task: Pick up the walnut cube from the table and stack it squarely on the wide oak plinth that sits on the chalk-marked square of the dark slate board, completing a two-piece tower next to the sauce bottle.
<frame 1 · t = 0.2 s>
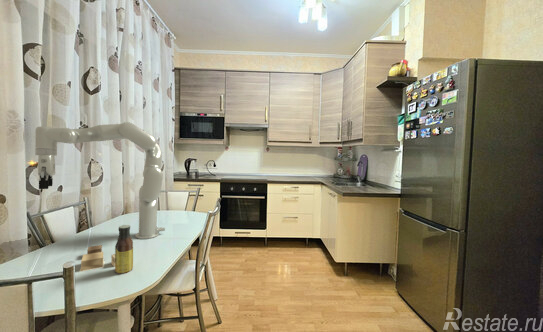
hand: (45, 187, 112), 31 cm above the table, fingers open, 9 cm apart
slate board: (98, 266, 99), on the table
oak plinth: (92, 265, 98), point 1 cm above the table, touching slate board
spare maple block: (118, 263, 101), point 1 cm above the table, touching slate board
walnut cube: (94, 258, 107), on the table
sauce bottle: (123, 273, 95), on the table
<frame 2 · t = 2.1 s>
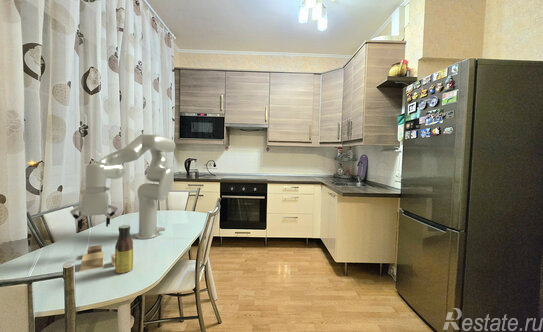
hand: (94, 227, 106), 15 cm above the table, fingers open, 9 cm apart
nothing on the table moved.
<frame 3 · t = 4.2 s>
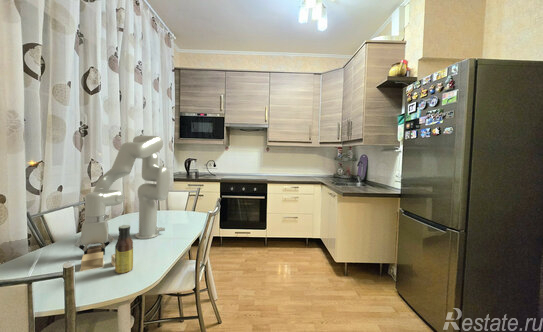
hand: (94, 256, 107), 0 cm above the table, fingers closed on walnut cube, 5 cm apart
walnut cube: (94, 258, 107), on the table, touching gripper
everything else where it was.
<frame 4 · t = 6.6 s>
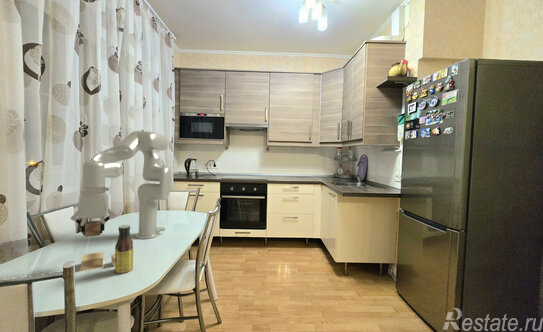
hand: (93, 233, 98), 15 cm above the table, fingers closed on walnut cube, 5 cm apart
walnut cube: (93, 234, 98), point 15 cm above the table, touching gripper
everything else where it was.
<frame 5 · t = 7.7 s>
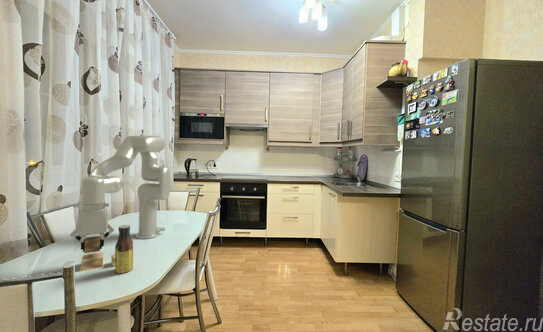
hand: (92, 248, 98), 8 cm above the table, fingers closed on walnut cube, 5 cm apart
walnut cube: (92, 250, 98), point 8 cm above the table, touching gripper
everything else where it was.
when the fingers open (7 cm above the table, at t = 8.8 s): walnut cube drops 1 cm, resting on oak plinth.
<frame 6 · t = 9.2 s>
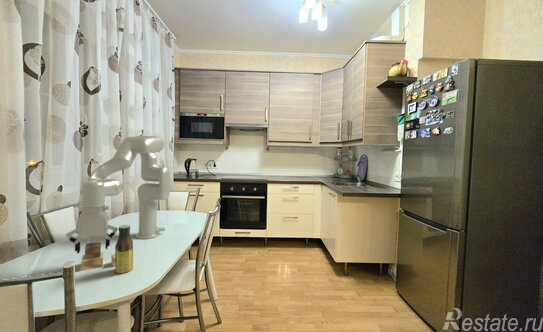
hand: (92, 250, 98), 8 cm above the table, fingers open, 9 cm apart
oak plinth: (92, 265, 98), point 1 cm above the table, touching slate board, walnut cube
walnut cube: (93, 256, 98), point 5 cm above the table, touching oak plinth
everything else where it was.
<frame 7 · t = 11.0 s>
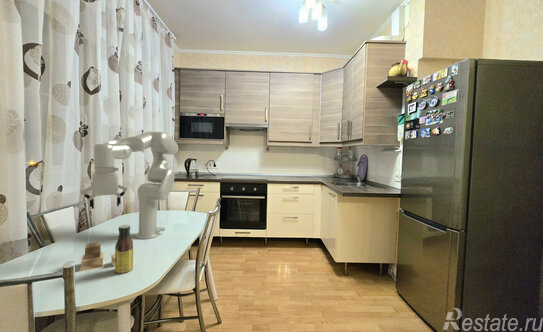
hand: (105, 206, 108), 24 cm above the table, fingers open, 9 cm apart
nothing on the table moved.
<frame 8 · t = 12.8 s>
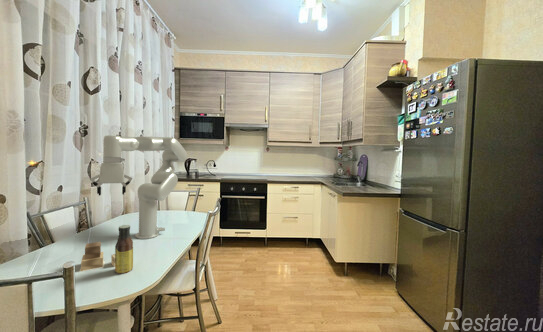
hand: (111, 194, 115), 28 cm above the table, fingers open, 9 cm apart
nothing on the table moved.
at the end: walnut cube 0.0 cm off-centre on the oak plinth, point 4.0 cm above the oak plinth's base; walnut cube tilted 0°; the gripper is holding nothing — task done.
